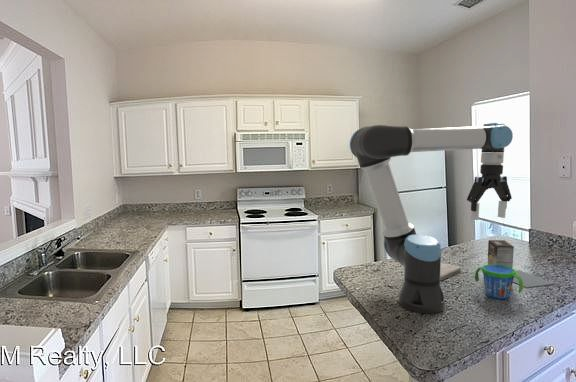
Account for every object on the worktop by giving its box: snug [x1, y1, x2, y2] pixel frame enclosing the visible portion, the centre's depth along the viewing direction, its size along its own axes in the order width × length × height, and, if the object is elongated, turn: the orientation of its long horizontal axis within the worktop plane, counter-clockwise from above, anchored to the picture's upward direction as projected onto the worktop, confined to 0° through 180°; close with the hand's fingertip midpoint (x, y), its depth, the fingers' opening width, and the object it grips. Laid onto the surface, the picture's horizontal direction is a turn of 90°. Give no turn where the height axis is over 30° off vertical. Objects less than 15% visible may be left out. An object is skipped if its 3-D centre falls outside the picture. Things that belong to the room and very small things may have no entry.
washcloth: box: [440, 261, 462, 281], centre depth 155 cm, size 12×18×3 cm, turn 129°
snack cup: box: [474, 264, 524, 300], centre depth 129 cm, size 16×10×10 cm
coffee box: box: [487, 239, 515, 269], centre depth 141 cm, size 9×6×16 cm
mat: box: [513, 270, 555, 289], centre depth 145 cm, size 13×16×1 cm
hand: (488, 218), depth 139 cm, fingers open, 13 cm apart
